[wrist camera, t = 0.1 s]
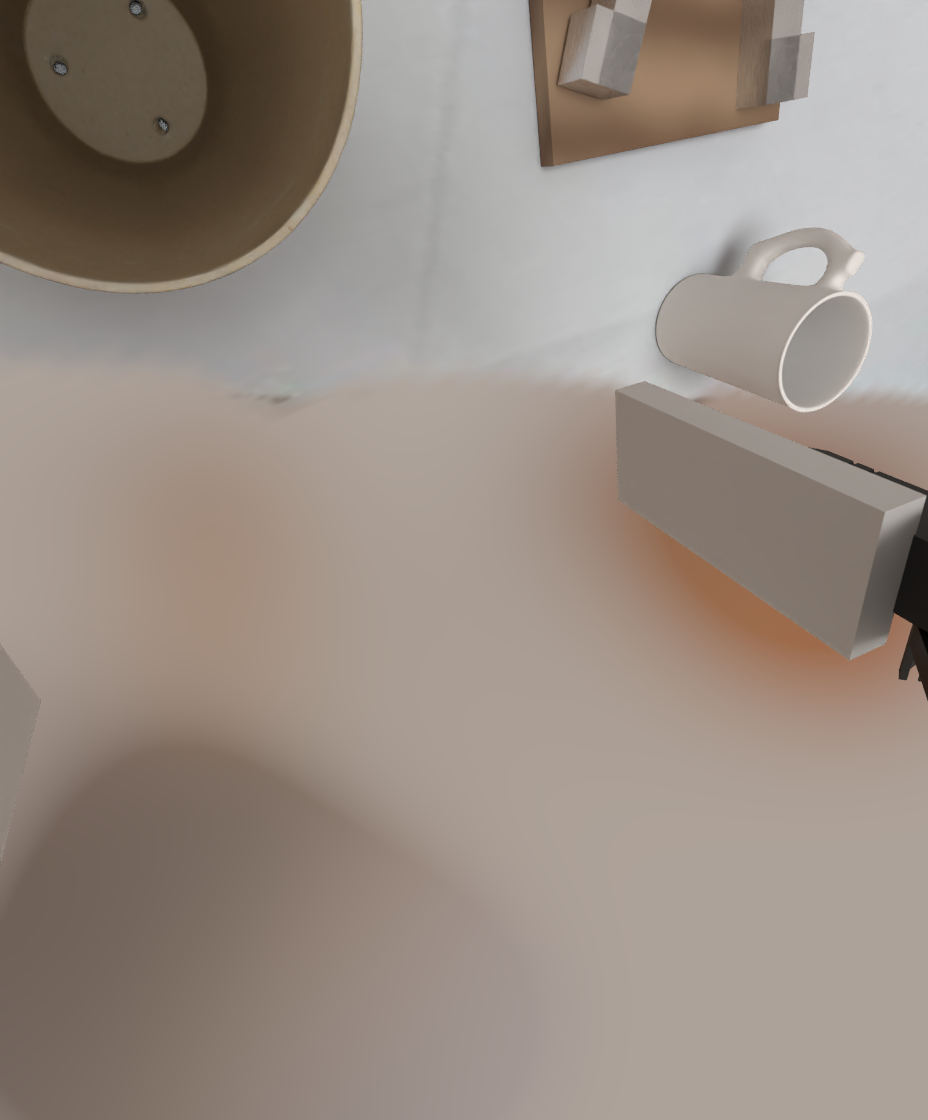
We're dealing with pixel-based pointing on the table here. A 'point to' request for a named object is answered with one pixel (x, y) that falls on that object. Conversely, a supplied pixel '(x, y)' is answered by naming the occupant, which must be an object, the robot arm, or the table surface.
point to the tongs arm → (604, 47)
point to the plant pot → (167, 133)
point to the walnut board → (644, 82)
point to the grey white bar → (772, 53)
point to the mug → (773, 325)
